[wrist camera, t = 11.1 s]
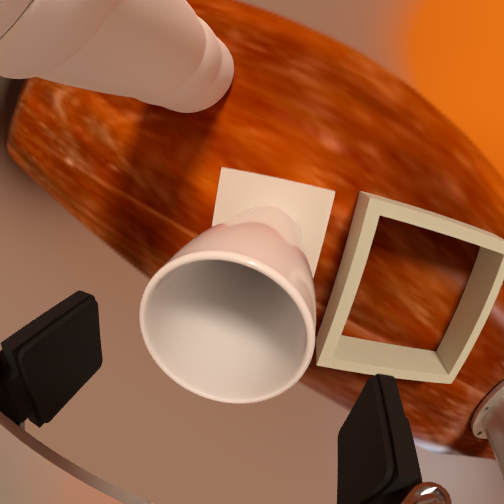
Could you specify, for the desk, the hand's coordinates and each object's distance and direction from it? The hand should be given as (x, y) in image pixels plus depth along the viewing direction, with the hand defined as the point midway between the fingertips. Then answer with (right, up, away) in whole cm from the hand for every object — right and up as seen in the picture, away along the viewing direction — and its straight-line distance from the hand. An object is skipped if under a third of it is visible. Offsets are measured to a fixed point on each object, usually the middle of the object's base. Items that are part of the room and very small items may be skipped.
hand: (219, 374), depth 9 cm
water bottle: (-4, +19, +13) cm, 23 cm away
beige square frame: (+15, +1, +16) cm, 22 cm away
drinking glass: (+2, +5, +16) cm, 17 cm away
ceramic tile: (+2, +6, +16) cm, 17 cm away
